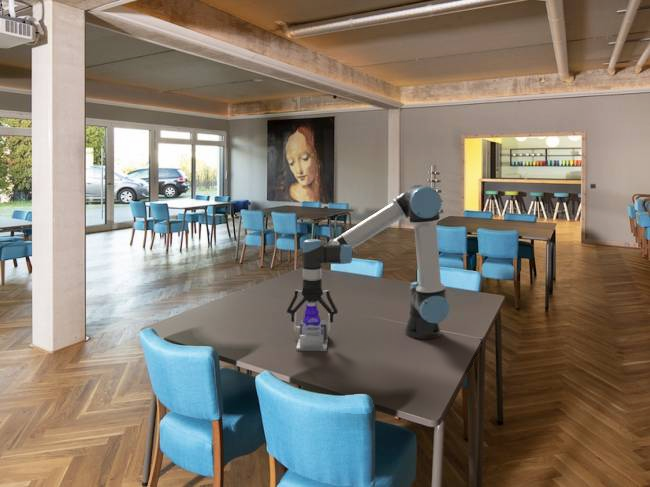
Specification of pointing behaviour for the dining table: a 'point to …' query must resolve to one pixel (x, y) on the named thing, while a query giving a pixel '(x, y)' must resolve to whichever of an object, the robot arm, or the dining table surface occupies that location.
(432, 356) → the dining table surface
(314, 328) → the bottle
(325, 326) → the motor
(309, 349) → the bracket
